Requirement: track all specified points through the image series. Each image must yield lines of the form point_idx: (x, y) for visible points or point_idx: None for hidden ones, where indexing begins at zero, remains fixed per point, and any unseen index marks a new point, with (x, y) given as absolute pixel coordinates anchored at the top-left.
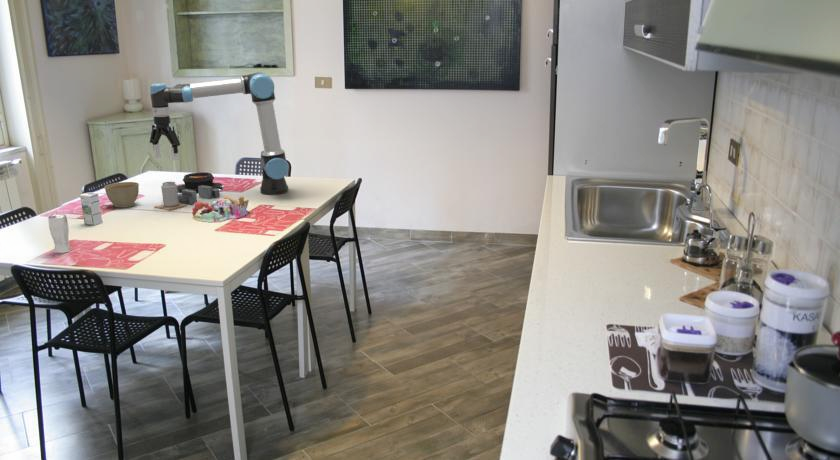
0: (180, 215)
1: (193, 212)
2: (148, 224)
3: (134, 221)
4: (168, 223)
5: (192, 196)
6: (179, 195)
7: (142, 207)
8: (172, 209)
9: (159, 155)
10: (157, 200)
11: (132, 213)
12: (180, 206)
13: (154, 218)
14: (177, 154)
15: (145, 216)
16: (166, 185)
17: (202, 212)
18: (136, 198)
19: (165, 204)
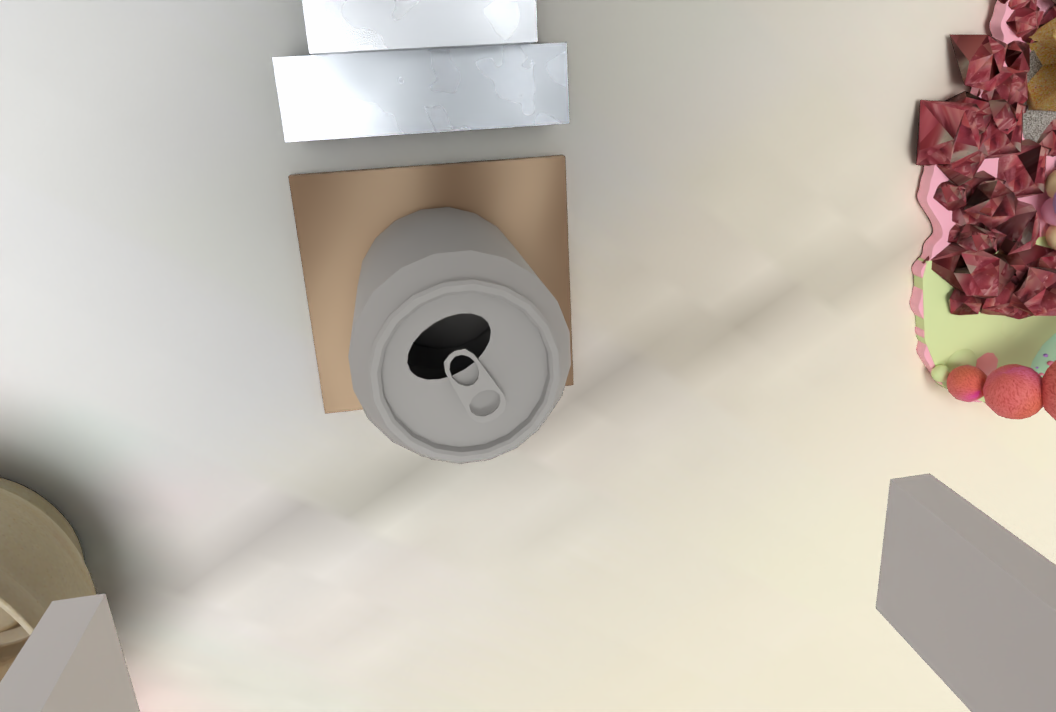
0: (782, 404)
1: (980, 397)
2: (765, 675)
3: (604, 707)
4: (875, 577)
5: (556, 56)
6: (365, 125)
7: (209, 477)
8: (571, 354)
9: (96, 663)
10: (6, 211)
11: (357, 626)
12: (556, 248)
13: (666, 580)
14: (1038, 566)
15: (547, 599)
16: (514, 435)
17: (982, 297)
18: (25, 502)
19: (459, 371)
